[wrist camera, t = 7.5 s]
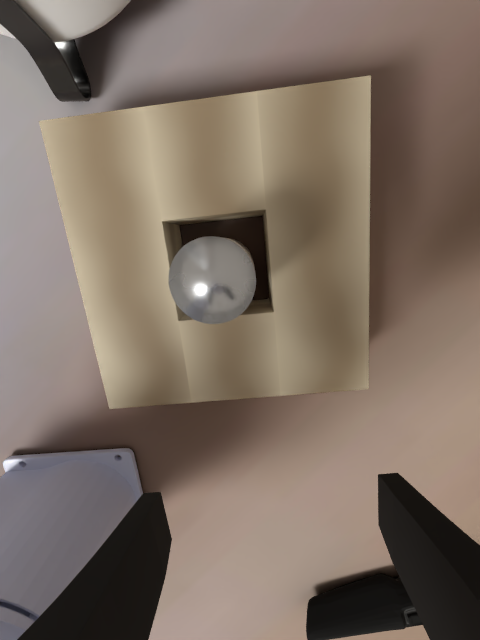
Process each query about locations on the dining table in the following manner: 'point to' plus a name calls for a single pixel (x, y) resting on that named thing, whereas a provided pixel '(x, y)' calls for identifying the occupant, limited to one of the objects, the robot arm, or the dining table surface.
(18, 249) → the dining table surface
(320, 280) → the socket block
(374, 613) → the electric trimmer
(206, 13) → the dining table surface
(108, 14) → the coffee press
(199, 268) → the peg
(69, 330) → the dining table surface
